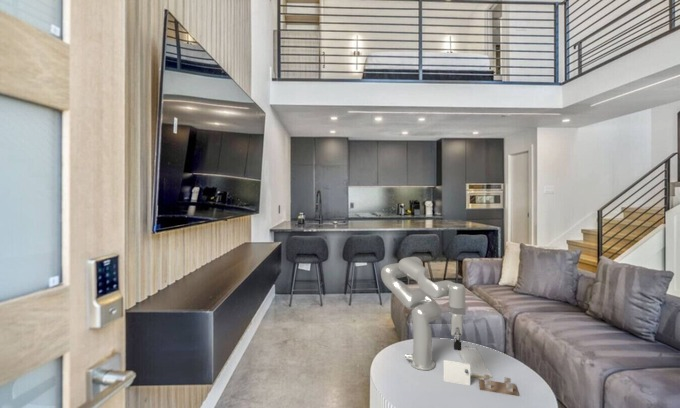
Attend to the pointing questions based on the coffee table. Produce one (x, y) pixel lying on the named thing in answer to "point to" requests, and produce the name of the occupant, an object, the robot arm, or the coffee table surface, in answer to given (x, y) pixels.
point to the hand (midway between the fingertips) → (457, 345)
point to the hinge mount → (498, 386)
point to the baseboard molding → (474, 362)
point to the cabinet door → (457, 372)
